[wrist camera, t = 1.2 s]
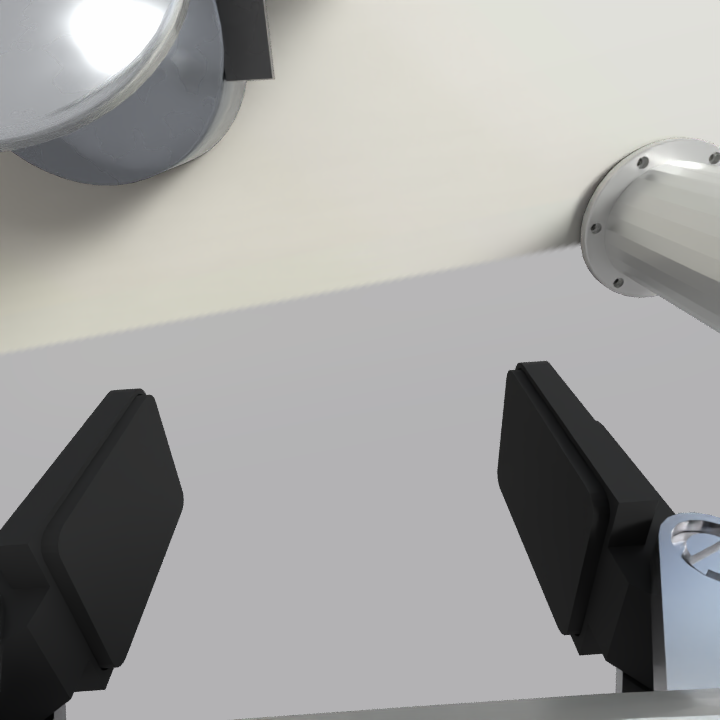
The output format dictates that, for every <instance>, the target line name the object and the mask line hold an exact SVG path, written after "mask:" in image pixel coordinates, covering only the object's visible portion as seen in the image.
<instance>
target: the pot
mask: <svg viewBox="0 0 720 720" xmlns="http://www.w3.org/2000/svg"><path fill="white" fill-rule="evenodd" d="M270 79H275V76H274V67H273V59H272V51H271V42H270V34H269V25H268V17H267V9H266V0H190V2H189V6H188V10H187V14H186V17H185V20H184V22H183V25H182V27H181V30H180V32H179V35H178V37H177V38H176V40H175V42H174V44H173V45H172V47H171V49H170V51H169V52H168V54H167V56H166V57H165V58H164V60H163V61H162V62H161V64H160V65H159V66H158V68H157V69H156V70H155V71H154V73H153V74H152V75H151V76H150V77H149V78H148V79H147V80H146V81H145V82H144V83H143V84H142V85H141V86H140V87H139V88H138V89H137V90H136V91H135V92H134V93H133V94H132V95H131V96H130V97H128V98H127V99H126V100H125V101H123V102H122V103H121V104H119V105H118V106H117V107H116V108H114V109H113V110H111V111H110V112H108V113H107V114H105V115H103V116H102V117H100V118H99V119H97V120H95V121H94V122H92V123H90V124H88V125H86V126H84V127H82V128H80V129H78V130H76V131H74V132H72V133H70V134H68V135H65V136H62V137H59V138H56V139H54V140H51V141H48V142H45V143H42V144H38V145H34V146H30V147H26V148H21V149H17V150H11V151H12V152H13V153H15V154H16V155H18V156H19V157H21V158H22V159H24V160H26V161H27V162H29V163H31V164H33V165H34V166H36V167H38V168H40V169H42V170H44V171H46V172H49V173H51V174H54V175H56V176H59V177H62V178H65V179H68V180H72V181H76V182H80V183H86V184H93V185H121V184H128V183H134V182H137V181H140V180H144V179H147V178H150V177H152V176H155V175H157V174H159V173H162V172H164V171H167V170H169V169H172V168H174V167H176V166H179V165H181V164H184V163H186V162H188V161H191V160H193V159H195V158H197V157H199V156H201V155H202V154H204V153H205V152H207V151H208V150H210V149H211V148H212V147H213V146H214V145H215V144H217V143H218V142H219V141H220V140H221V138H222V137H223V136H224V135H225V134H226V132H227V131H228V130H229V128H230V126H231V125H232V123H233V121H234V120H235V118H236V115H237V113H238V111H239V108H240V106H241V103H242V99H243V95H244V92H245V86H246V81H254V80H270Z"/></svg>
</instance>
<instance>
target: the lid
mask: <svg viewBox="0 0 720 720" xmlns="http://www.w3.org/2000/svg"><path fill="white" fill-rule="evenodd" d="M189 2H190V0H0V152H2V151H11V150H17V149H21V148H26V147H30V146H34V145H38V144H42V143H45V142H48V141H51V140H54V139H56V138H59V137H62V136H65V135H68V134H70V133H72V132H74V131H76V130H78V129H80V128H82V127H84V126H86V125H88V124H90V123H92V122H94V121H95V120H97V119H99V118H100V117H102V116H103V115H105V114H107V113H108V112H110V111H111V110H113V109H114V108H116V107H117V106H118V105H119V104H121V103H122V102H123V101H125V100H126V99H127V98H128V97H130V96H131V95H132V94H133V93H134V92H135V91H136V90H137V89H138V88H139V87H140V86H141V85H142V84H143V83H144V82H145V81H146V80H147V79H148V78H149V77H150V76H151V75H152V74H153V73H154V71H155V70H156V69H157V68H158V66H159V65H160V64H161V62H162V61H163V60H164V58H165V57H166V56H167V54H168V52H169V51H170V49H171V47H172V45H173V44H174V42H175V40H176V38H177V37H178V35H179V32H180V30H181V27H182V25H183V22H184V20H185V17H186V14H187V10H188V6H189Z"/></svg>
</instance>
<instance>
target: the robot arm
mask: <svg viewBox="0 0 720 720" xmlns="http://www.w3.org/2000/svg"><path fill="white" fill-rule="evenodd" d="M638 160H639V163H638V164H637V162H638ZM593 224H594V226H593V228H592V229H591V227H592V225H593ZM581 249H582V254H583V258H584V261H585V263H586V265H587V267H588V269H589V271H590V272H591V273H592V275H593V276H594V277H595V278H596V279H597V280H598V281H599V282H600V283H602V284H603V285H604V286H606V287H607V288H609V289H610V290H612V291H614V292H616V293H619V294H622V295H625V296H631V297H653V296H657V295H658V296H660V297H662V298H663V299H665V300H666V301H668V302H670V303H671V304H673V305H675V306H676V307H678V308H679V309H681V310H683V311H685V312H686V313H688V314H689V315H691V316H693V317H694V318H696V319H697V320H699V321H701V322H702V323H704V324H706V325H707V326H709V327H711V328H712V329H714V330H715V331H717V332H719V333H720V147H719V146H717V145H715V144H714V143H711V142H708V141H704V140H701V139H695V138H685V137H684V138H669V139H665V140H661V141H657V142H653V143H651V144H649V145H647V146H644V147H642V148H640V149H638V150H636V151H635V152H633V153H632V154H630V155H629V156H627V157H626V158H624V159H623V160H622V161H621V162H619V163H618V164H617V165H616V166H615V167H614V168H613V169H612V170H611V171H610V172H609V173H608V174H607V175H606V177H605V178H604V179H603V180H602V182H601V183H600V184H599V185H598V187H597V189H596V190H595V192H594V194H593V195H592V197H591V199H590V201H589V203H588V206H587V208H586V211H585V214H584V217H583V222H582V227H581ZM497 474H498V482H499V486H500V489H501V492H502V494H503V497H504V499H505V501H506V504H507V506H508V509H509V511H510V513H511V516H512V518H513V521H514V523H515V525H516V528H517V530H518V533H519V535H520V537H521V540H522V542H523V545H524V547H525V550H526V552H527V554H528V556H529V559H530V562H531V564H532V566H533V569H534V571H535V573H536V576H537V578H538V581H539V583H540V586H541V588H542V590H543V593H544V595H545V598H546V600H547V602H548V605H549V607H550V610H551V612H552V614H553V617H554V619H555V622H556V624H557V626H558V628H559V630H560V632H561V633H562V634H564V635H571V637H572V639H573V642H574V644H575V646H576V648H577V651H578V653H579V655H591V654H603V656H604V658H605V660H606V661H607V662H609V663H611V664H612V665H613V666H615V667H616V693H612V694H594V695H580V696H564V697H550V698H534V699H519V700H504V701H490V702H476V703H475V702H474V703H461V704H460V703H459V704H445V705H430V706H415V707H401V708H387V709H373V710H360V711H347V712H332V713H319V714H304V715H290V716H278V717H263V718H250V719H236V720H720V518H719V517H716V516H712V515H708V514H702V513H695V512H690V513H678V514H675V513H674V512H673V511H672V510H671V508H670V507H669V506H668V505H667V503H666V502H665V501H664V500H663V499H662V497H661V496H660V495H659V494H658V492H657V491H656V490H655V489H654V487H653V486H652V485H651V484H650V483H649V481H648V480H647V479H646V478H645V476H644V475H643V474H642V473H641V471H640V470H639V469H638V468H637V467H636V465H635V464H634V463H633V462H632V461H631V459H630V458H629V457H628V455H627V454H626V453H625V452H624V451H623V449H622V448H621V447H620V446H619V445H618V443H617V442H616V441H615V440H614V438H613V437H612V436H611V435H610V433H609V432H608V431H607V430H606V428H605V427H604V426H603V425H602V424H601V423H599V422H598V421H595V420H594V419H593V417H592V416H591V415H590V413H589V412H588V411H587V410H586V408H585V407H584V406H583V405H582V403H581V402H580V401H579V400H578V398H577V397H576V396H575V395H574V393H573V392H572V391H571V390H570V388H569V387H568V386H567V385H566V383H565V382H564V381H563V380H562V378H561V377H560V376H559V375H558V374H557V372H556V371H555V370H554V368H553V367H552V366H551V365H550V363H548V362H547V361H540V362H524V363H518V364H517V366H516V369H515V370H510V371H508V373H507V379H506V389H505V399H504V410H503V419H502V429H501V440H500V450H499V460H498V471H497ZM183 501H184V499H183V491H182V488H181V485H180V481H179V478H178V475H177V471H176V468H175V465H174V461H173V458H172V455H171V451H170V448H169V445H168V441H167V438H166V435H165V431H164V428H163V425H162V422H161V418H160V415H159V411H158V408H157V405H156V402H155V399H154V397H153V396H152V395H146V394H145V392H144V391H143V390H142V389H126V390H113V391H110V392H109V393H108V394H107V395H106V397H105V398H104V399H103V401H102V402H101V403H100V404H99V406H98V407H97V408H96V409H95V411H94V412H93V413H92V415H91V416H90V417H89V418H88V419H87V421H86V422H85V423H84V425H83V426H82V427H81V428H80V430H79V431H78V432H77V434H76V435H75V436H74V437H73V438H72V440H71V441H70V442H69V444H68V445H67V446H66V447H65V449H64V450H63V451H62V452H61V454H60V455H59V456H58V457H57V459H56V460H55V462H54V463H53V464H52V465H51V466H50V468H49V469H48V470H47V471H46V473H45V474H44V475H43V477H42V478H41V479H40V480H39V482H38V483H37V484H36V485H35V487H34V488H33V489H32V490H31V492H30V493H29V494H28V496H27V497H26V498H25V500H24V501H23V502H22V503H21V504H20V506H19V507H18V508H17V510H16V511H15V512H14V513H13V515H12V516H11V517H10V518H9V520H8V521H7V522H6V523H5V525H4V526H3V527H2V529H1V530H0V720H66V706H65V703H66V702H68V701H69V700H70V699H71V698H72V695H73V693H74V692H79V691H93V690H105V689H106V686H107V684H108V681H109V679H110V676H111V674H112V671H113V669H114V668H115V667H119V666H121V665H122V663H123V662H124V660H125V658H126V656H127V653H128V651H129V648H130V646H131V643H132V640H133V638H134V635H135V632H136V630H137V627H138V624H139V622H140V619H141V617H142V614H143V611H144V609H145V606H146V604H147V601H148V598H149V596H150V593H151V591H152V588H153V585H154V582H155V580H156V577H157V575H158V572H159V569H160V567H161V564H162V562H163V559H164V557H165V554H166V551H167V549H168V546H169V543H170V540H171V538H172V535H173V533H174V530H175V528H176V525H177V522H178V519H179V517H180V515H181V512H182V508H183Z"/></svg>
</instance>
